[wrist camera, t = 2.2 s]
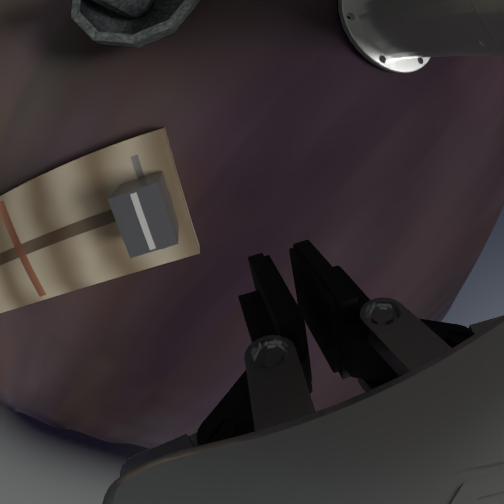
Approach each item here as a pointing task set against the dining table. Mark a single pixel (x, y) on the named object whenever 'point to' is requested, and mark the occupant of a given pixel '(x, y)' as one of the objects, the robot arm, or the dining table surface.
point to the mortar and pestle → (130, 19)
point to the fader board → (82, 223)
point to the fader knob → (145, 214)
